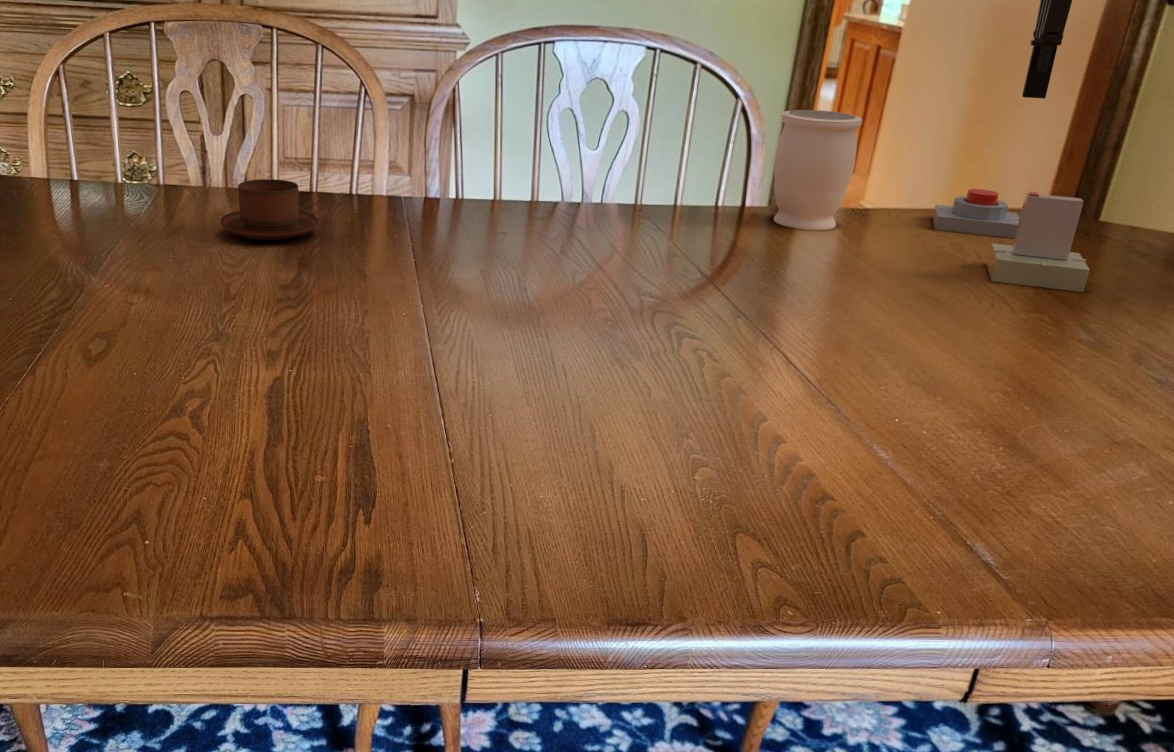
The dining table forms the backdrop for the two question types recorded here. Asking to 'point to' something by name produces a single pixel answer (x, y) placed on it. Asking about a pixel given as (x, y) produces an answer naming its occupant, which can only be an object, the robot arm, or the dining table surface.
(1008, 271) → the base
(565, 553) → the dining table surface
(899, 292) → the dining table surface
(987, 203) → the button
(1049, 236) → the grey flat slab
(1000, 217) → the button box
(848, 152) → the jar
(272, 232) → the cup and saucer
